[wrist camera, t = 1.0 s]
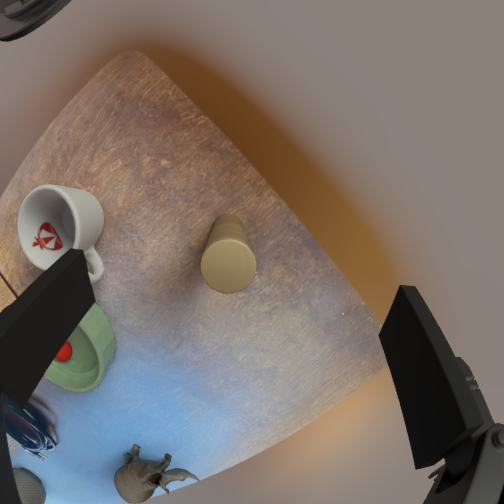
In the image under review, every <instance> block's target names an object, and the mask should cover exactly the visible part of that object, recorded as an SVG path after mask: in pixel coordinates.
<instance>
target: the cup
mask: <svg viewBox="0 0 504 504" xmlns="http://www.w3.org/2000/svg"><path fill="white" fill-rule="evenodd" d="M103 226H104V214H103V210H102V207H101V205H100V203H99V201H98V200H97V199H96V198H95V196H93V195H92V194H91V193H89V192H87V191H85V190H81V189H76V188H70V187H64V186H57V185H42V186H39V187H37V188H35V189H33V190H32V191H31V192H30V193H29V194H28V195H27V196H26V197H25V199H24V201H23V202H22V204H21V207H20V210H19V213H18V219H17V232H18V238H19V242H20V245H21V248H22V250H23V252H24V254H25V255H26V257H27V258H28V259H29V261H30V262H31V263H32V264H33V265H35V266H36V267H37V268H39V269H41V270H44V271H46V270H47V269H48V268H49V267H50V266H51V265H52V264H53V263H54V262H55V261H56V260H58V259H59V258H60V257H61V256H62V255H63V254H64V253H65V252H67V251H68V250H69V249H70V248H73V249H81V250H84V255H85V259H86V260H87V261H88V262H89V263H90V264H91V265H92V267H93V271H94V272H93V274H91V273H90V272H88V273H89V277H90V281H91V285H93V284H95V283H96V282H98V281H99V280H100V279H101V277H102V276H103V273H104V266H103V263H102V260H101V258H100V257H99V255H98V254H97V252H96V251H95V248H94V245H95V243H96V242H97V240H98V239H99V237H100V235H101V233H102V231H103Z"/></svg>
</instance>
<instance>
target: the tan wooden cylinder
mask: <svg viewBox="0 0 504 504" xmlns="http://www.w3.org/2000/svg"><path fill="white" fill-rule="evenodd" d="M200 271H201V275H202V277H203V279H204V281H205V282H206V283H207V285H208V286H210V287H211V288H212V289H214V290H216V291H218V292H221V293H235V292H238V291H241V290H243V289H244V288H246V287H247V286H248V285H249V284H250V283H251V281H252V280H253V278H254V276H255V272H256V260H255V257H254V254H253V252H252V249H251V247H250V244H249V241H248V239H247V236H246V233H245V231H244V228H243V226H242V223H241V221H240V219H239V218H238V217H236V216H235V215H232V214H224V215H221V216H220V217H218V218H217V220H216V221H215V223H214V226H213V228H212V231H211V234H210V236H209V239H208V242H207V244H206V247H205V250H204V252H203V255H202V258H201V262H200Z"/></svg>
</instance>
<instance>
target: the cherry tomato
mask: <svg viewBox="0 0 504 504" xmlns="http://www.w3.org/2000/svg"><path fill="white" fill-rule="evenodd" d="M71 355H72V347H71V344H70V343H69V342H68V341H66V342H65V344H64V345H63V347H62V348H61V350H60V351H59V353H58V354H57V356H56V357H55V358H56V359H57V360H60V361H66V360H68V359H69V358H70V357H71Z"/></svg>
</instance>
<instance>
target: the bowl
mask: <svg viewBox="0 0 504 504" xmlns="http://www.w3.org/2000/svg"><path fill="white" fill-rule="evenodd" d="M67 341H68V342H69V343H70V344H71V347H72V355H71V357H70V358H69V359H68V360H66V361H60V360H57V359H56V358H55V359H54V360H53V362H52V363H51V365H50V366H49V368H48V369H47V371H46V372H45V374H44V375H43V376H45V377H46V378H47V379H48V380H49V381H50V382H52V383H54V384H55V385H57V386H59V387H61V388H62V389H65V390H69V391H72V392H88V391H90V390H92V389H95V388H96V387H97V386H98V385H99V383H100V382H101V381H102V379H103V377H104V376H105V374H106V372H107V370H108V369H109V367H110V365H111V363H112V362H113V360H114V358H115V353H116V349H117V346H116V338H115V333H114V331H113V328H112V326H111V324H110V321H109V319H108V318H107V316H106V315H105V313H104V312H103V311H102V309H101V308H100V307H99V306H98V305H97V304H96V303H94V304H93V305H92V307H91V308H90V309H89V311H88V312H87V313H86V315H85V316H84V317H83V319H82V320H81V322H80V323H79V324H78V326H77V327H76V328H75V330H74V331H73V333H72V334H71V335H70V337H69V338H68V340H67Z"/></svg>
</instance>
